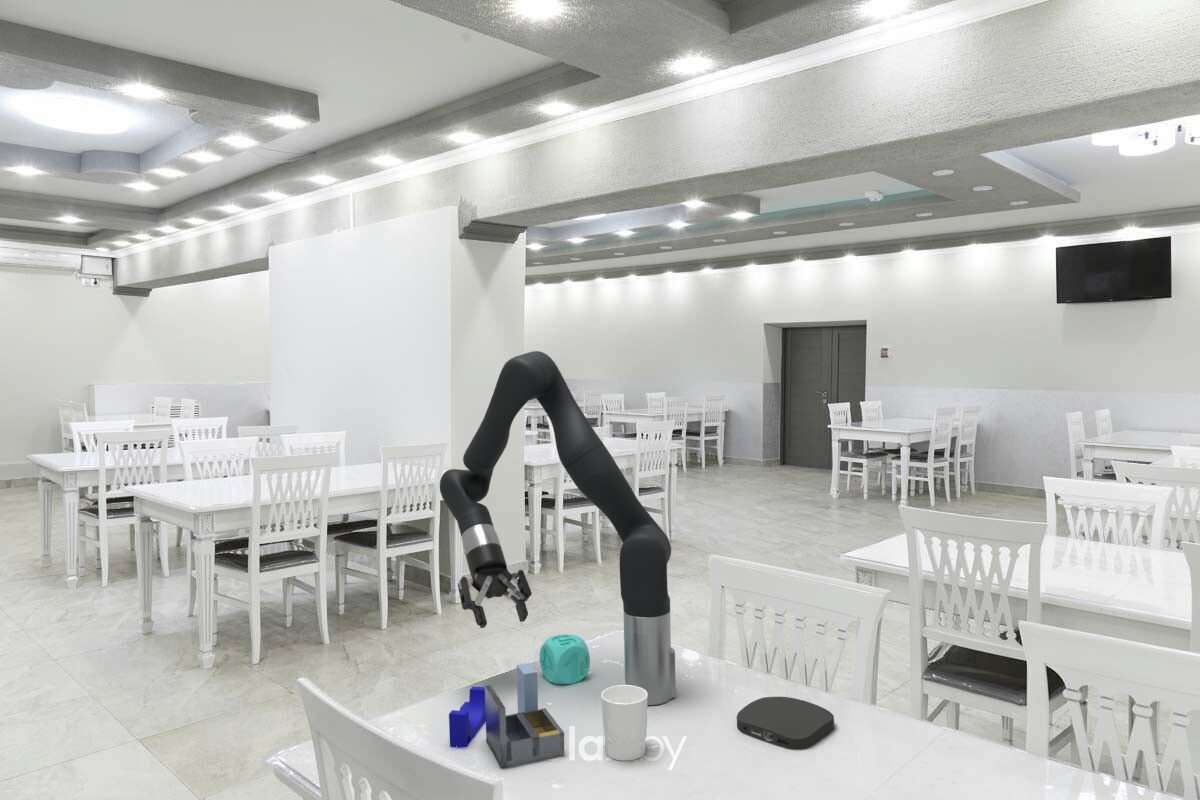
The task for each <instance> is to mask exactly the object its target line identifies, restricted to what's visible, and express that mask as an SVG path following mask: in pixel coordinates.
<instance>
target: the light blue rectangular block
mask: <svg viewBox="0 0 1200 800" xmlns="http://www.w3.org/2000/svg"><path fill="white" fill-rule="evenodd" d="M516 689H517V691H516V692H517V693H516V694H517V697H516V698H517V713H522V712H527V711H533V710H538V709H539V692H538V670H536V669H535V668H534V666H533V665H532V664H531V663H530V662H526V663H525V662H524V663H519V664H516Z"/></svg>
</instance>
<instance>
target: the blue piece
mask: <svg viewBox="0 0 1200 800" xmlns="http://www.w3.org/2000/svg"><path fill="white" fill-rule="evenodd" d="M448 721H449V722H448V725H449V726H448V727H449V731H448V732H449V747H450V746H451V747H450V748H460V747H467V748H468V747H469V745H470V744H469V743H471V742H472V741H473V740H474V738H475V737H476V735H477V734H478V733H479V731H480V730H481V729H482V728H483V726H484V725H485V724H486V711H485V686H471V687H470V688H469V699H468V701H464V702H463V704H462V705H461V706H460V708H459V710H457V709H453V710H451V711H450V712H449V713H448ZM483 724H484V725H483ZM472 739H473V740H472ZM456 746H457V747H456Z"/></svg>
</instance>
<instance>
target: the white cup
mask: <svg viewBox="0 0 1200 800" xmlns="http://www.w3.org/2000/svg"><path fill="white" fill-rule="evenodd" d="M600 696H601V697H600V700H601V711H602V712H601V713H602V715H601V716H602V725H603V735H604V743H605V746H604V747H605V753H606V754H607V756H608V757H609V758H611V759H613V760H615V761H625V762H626V761H635V760H637V759H638V760H639V758H640V759H641V758H642V757H643V756H644V755H645V753H646V738H647V729H648V727H647V726H648V705H647V700H648V693H647V692H646V690H644V689H643V688H640V687H637V686H632V685H625V684H618V685H614V686H613V685H612V686H609V687H607V688H605V689H604V690H603V691H602V692H601V693H600Z"/></svg>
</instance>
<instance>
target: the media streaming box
mask: <svg viewBox="0 0 1200 800" xmlns="http://www.w3.org/2000/svg"><path fill="white" fill-rule="evenodd" d="M736 728H737V730H738V731H739V732H740V733H742V734H744V735H746V736H748V737H751V738H754V739H756V740H760V741H763V742H766V743H768V744H770V745H775V746H777V747H780V748H784V749H788V750H795V751H798V750H800V751H801V750H806V749H809V748H812V747H814V746H815V745H816V744H818V743H819V742H820V741H822V740H823V739H825V738H826V737H827V736H828V735H829V734H831V733H832V732H833V731H834V730H835V715H833V713H832V712H831V711H829V710H828V709H826V708H824V707H822V706H821V705H818V704H816V703H812V702H810V701H807V700H803V699H799V698H794V697H791V696H790V697H789V696H766V697H765V696H764V697H760V698H758V699H755V700H753V701H752V702H749V703H748V704H747V705H745V706H744V707H743V708H741V709H740V710H739V711H738V713H737V714H736Z"/></svg>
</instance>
